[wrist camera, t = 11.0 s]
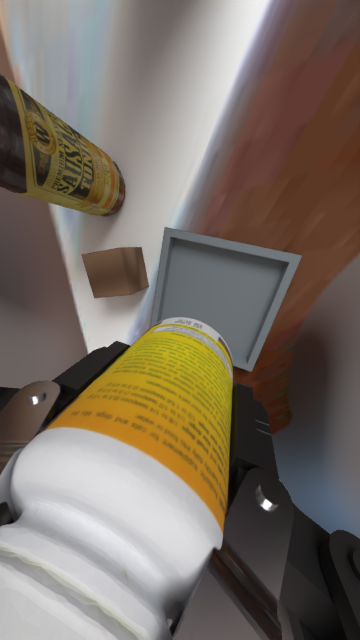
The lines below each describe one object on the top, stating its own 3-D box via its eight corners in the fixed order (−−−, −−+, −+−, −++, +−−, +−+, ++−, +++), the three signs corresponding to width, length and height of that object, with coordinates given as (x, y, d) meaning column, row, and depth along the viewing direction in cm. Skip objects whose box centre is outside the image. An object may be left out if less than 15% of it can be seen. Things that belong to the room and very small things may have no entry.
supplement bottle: (149, 302, 11) (-307, 595, 2) (247, 330, 10) (362, 1335, 1) (139, 377, 13) (-84, 675, 4) (218, 406, 12) (159, 890, 3)
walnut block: (108, 253, 26) (81, 254, 21) (141, 247, 24) (119, 247, 20) (117, 289, 27) (94, 298, 23) (149, 286, 26) (130, 294, 21)
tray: (170, 228, 22) (164, 227, 21) (296, 254, 20) (301, 255, 18) (154, 332, 28) (148, 337, 26) (250, 362, 25) (251, 371, 24)
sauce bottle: (130, 217, 23) (-226, 121, 5) (87, 217, 25) (-300, 145, 7) (125, 149, 21) (-545, -425, 3) (78, 155, 22) (-548, -201, 5)
